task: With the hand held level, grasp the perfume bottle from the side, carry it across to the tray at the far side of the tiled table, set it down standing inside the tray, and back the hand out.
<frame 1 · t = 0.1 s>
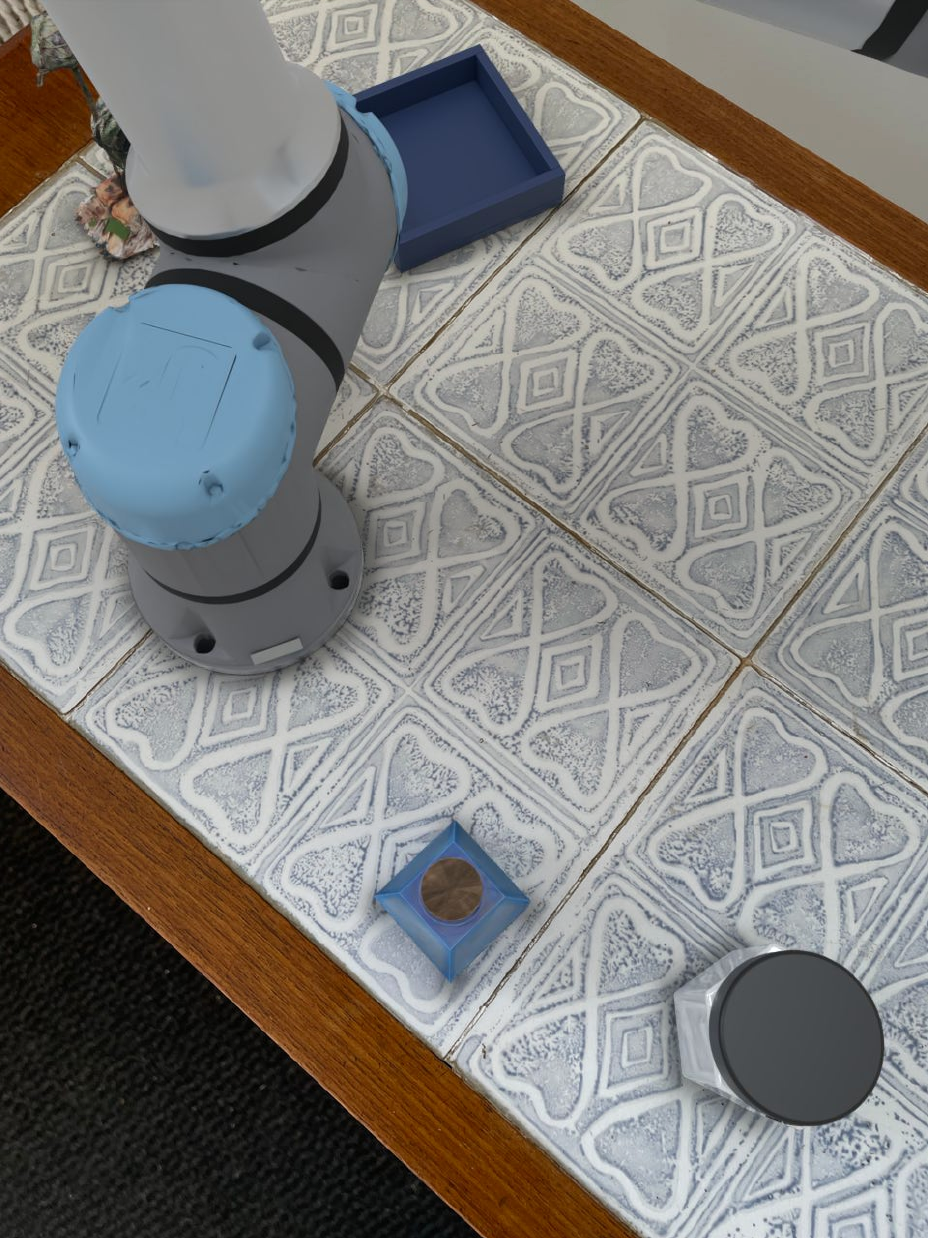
plant with pod: (151, 209, 85), on the table
jar: (742, 1029, 66), on the table
tray: (441, 171, 86), on the table
perfume bottle: (453, 907, 68), on the table
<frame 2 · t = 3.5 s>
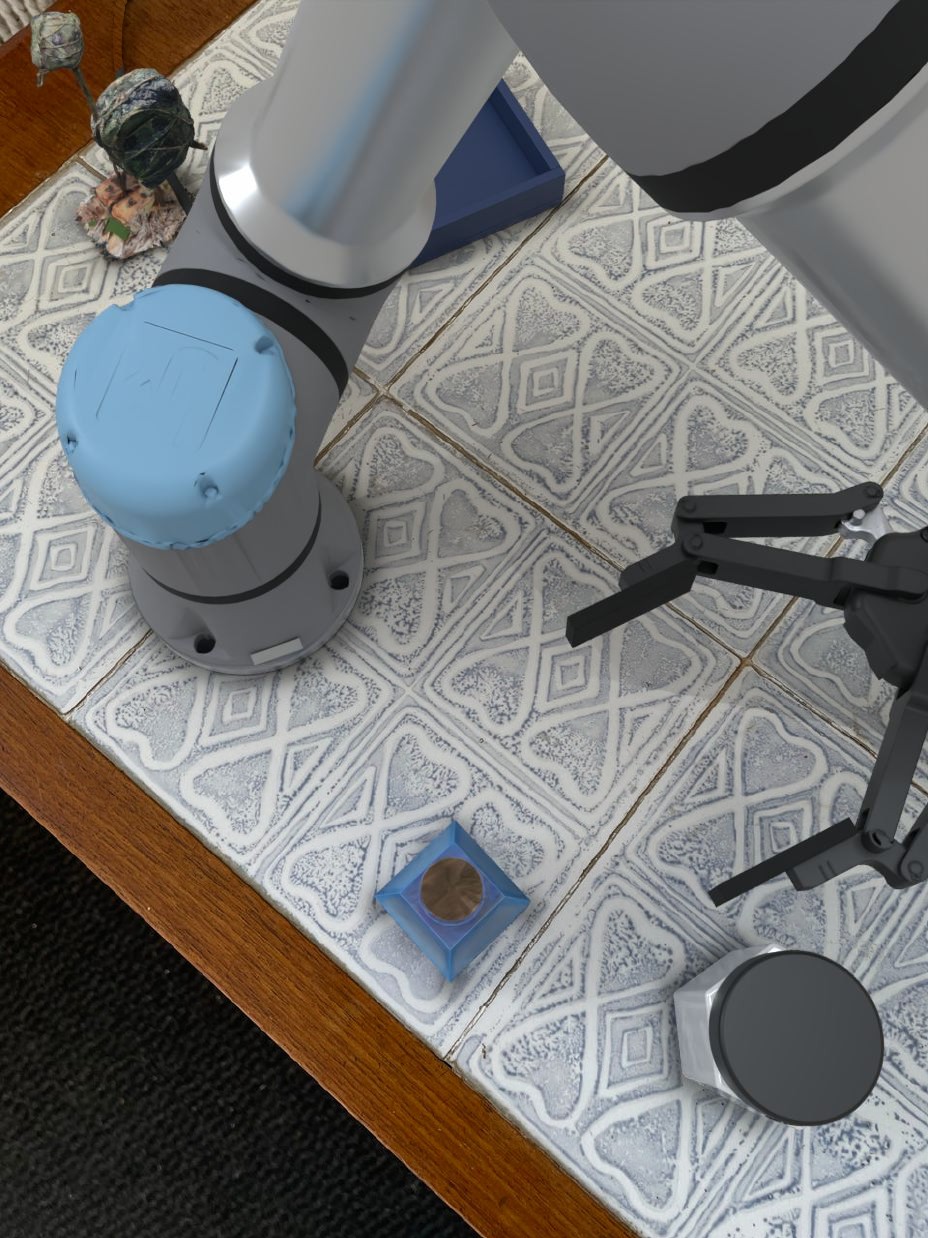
hand: (638, 759, 51), 20 cm above the table, tool horizontal, fingers open, 13 cm apart
nothing on the table moved.
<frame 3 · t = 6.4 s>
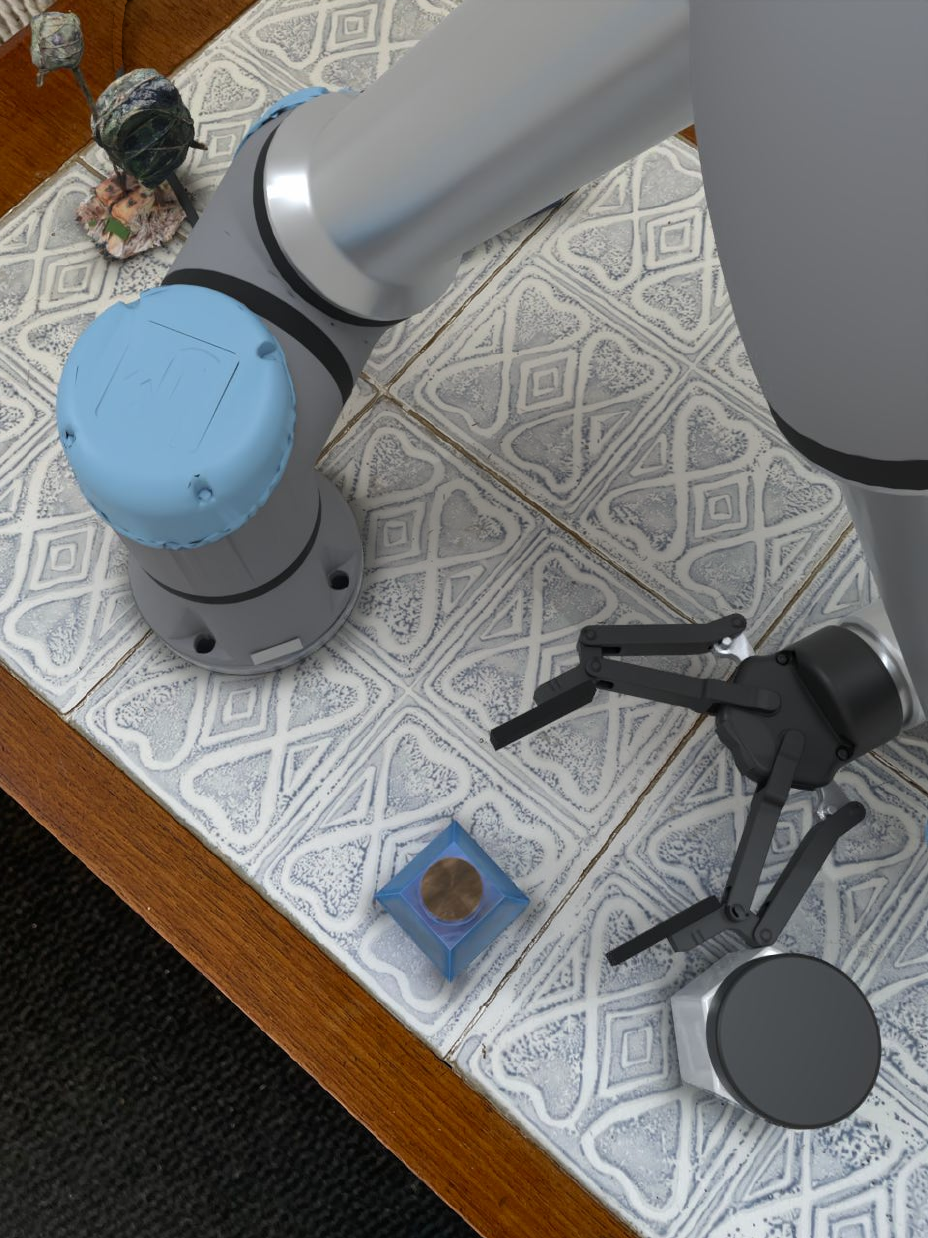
hand: (549, 847, 63), 7 cm above the table, tool horizontal, fingers open, 13 cm apart
jar: (740, 1032, 66), on the table, touching gripper
everything else where it was.
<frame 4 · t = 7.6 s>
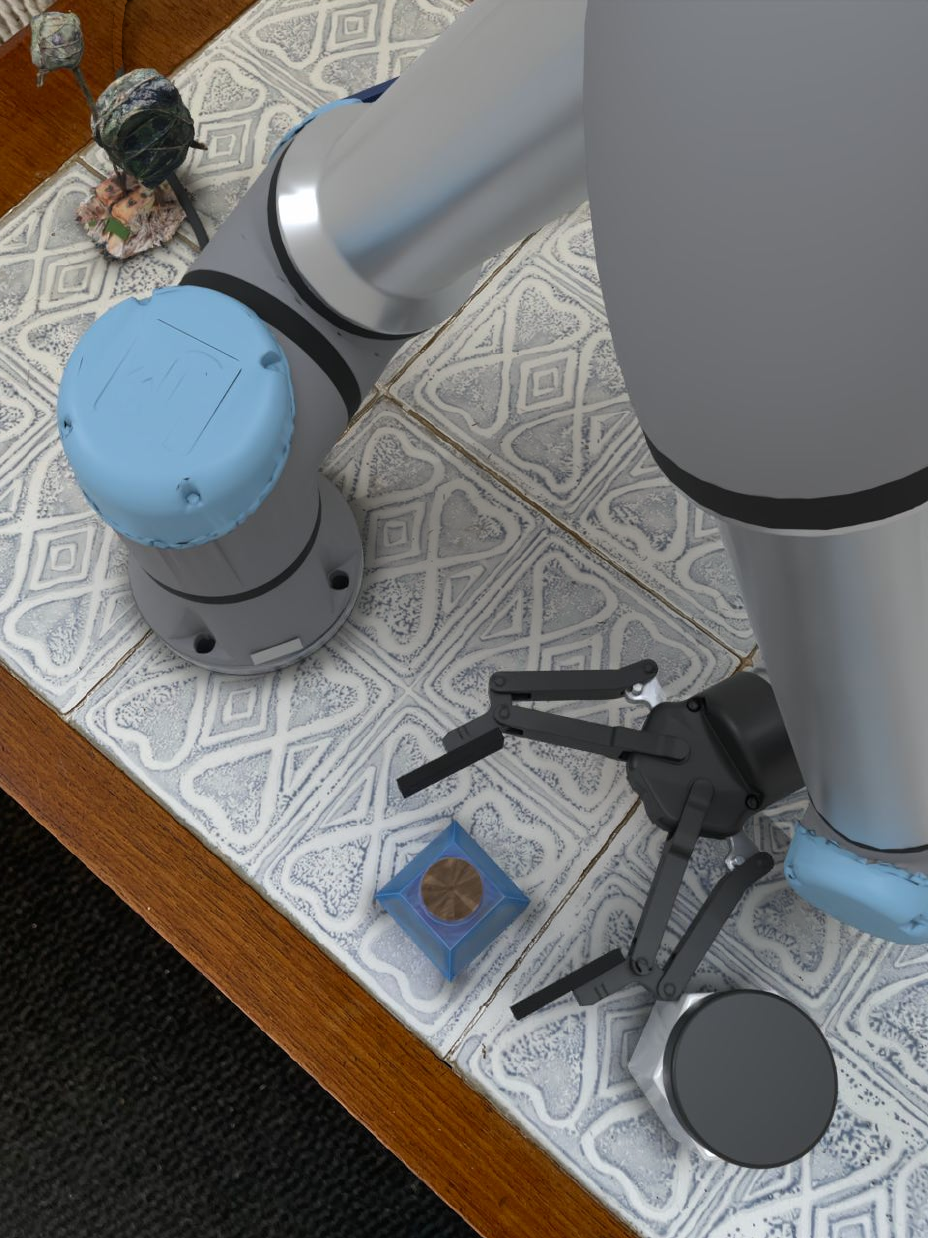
hand: (454, 898, 62), 7 cm above the table, tool horizontal, fingers open, 13 cm apart
jar: (703, 1063, 65), on the table
everything else where it was.
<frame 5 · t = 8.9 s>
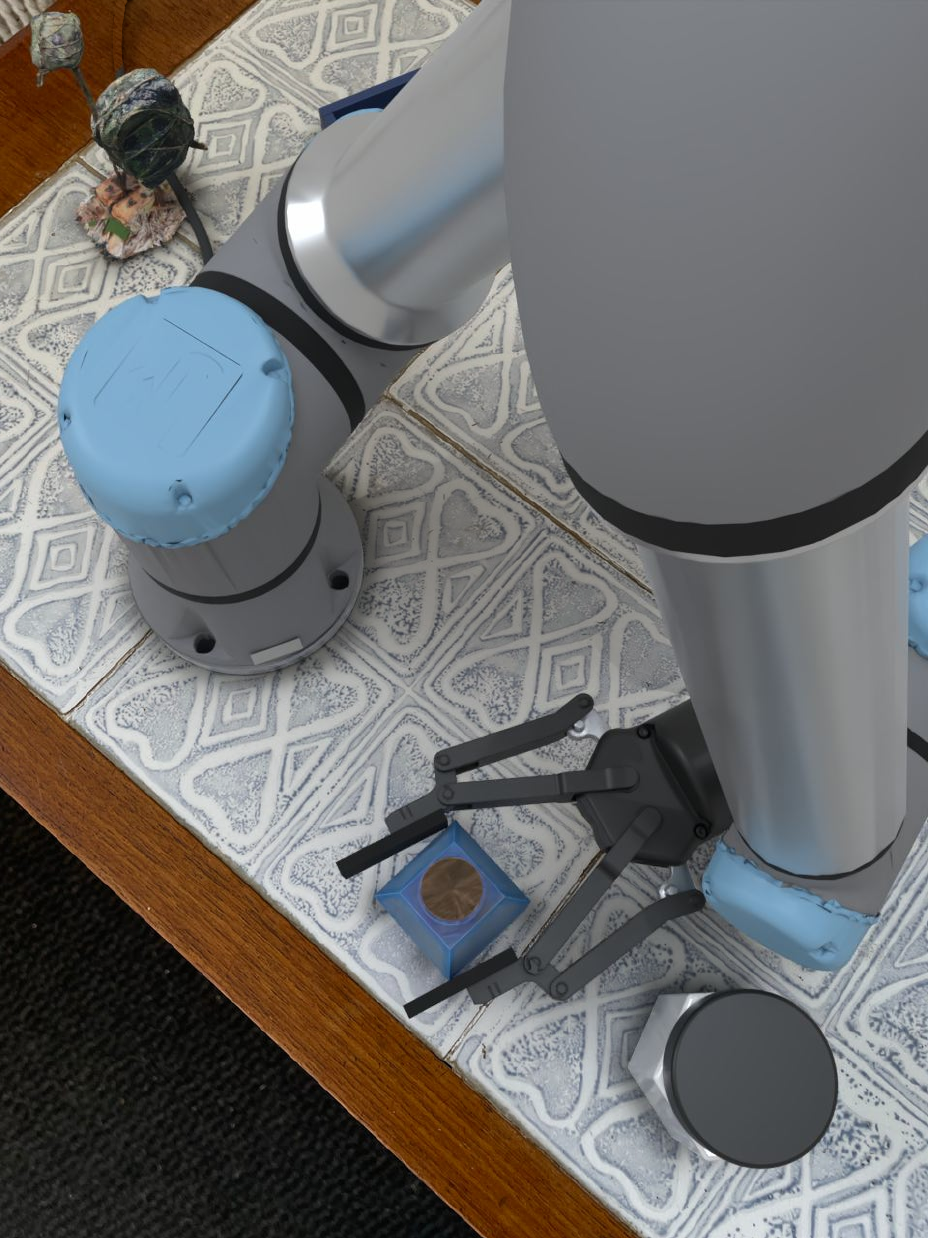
hand: (373, 940, 61), 7 cm above the table, tool horizontal, fingers closed on perfume bottle, 8 cm apart
perfume bottle: (453, 907, 68), on the table, touching gripper
everything else where it was.
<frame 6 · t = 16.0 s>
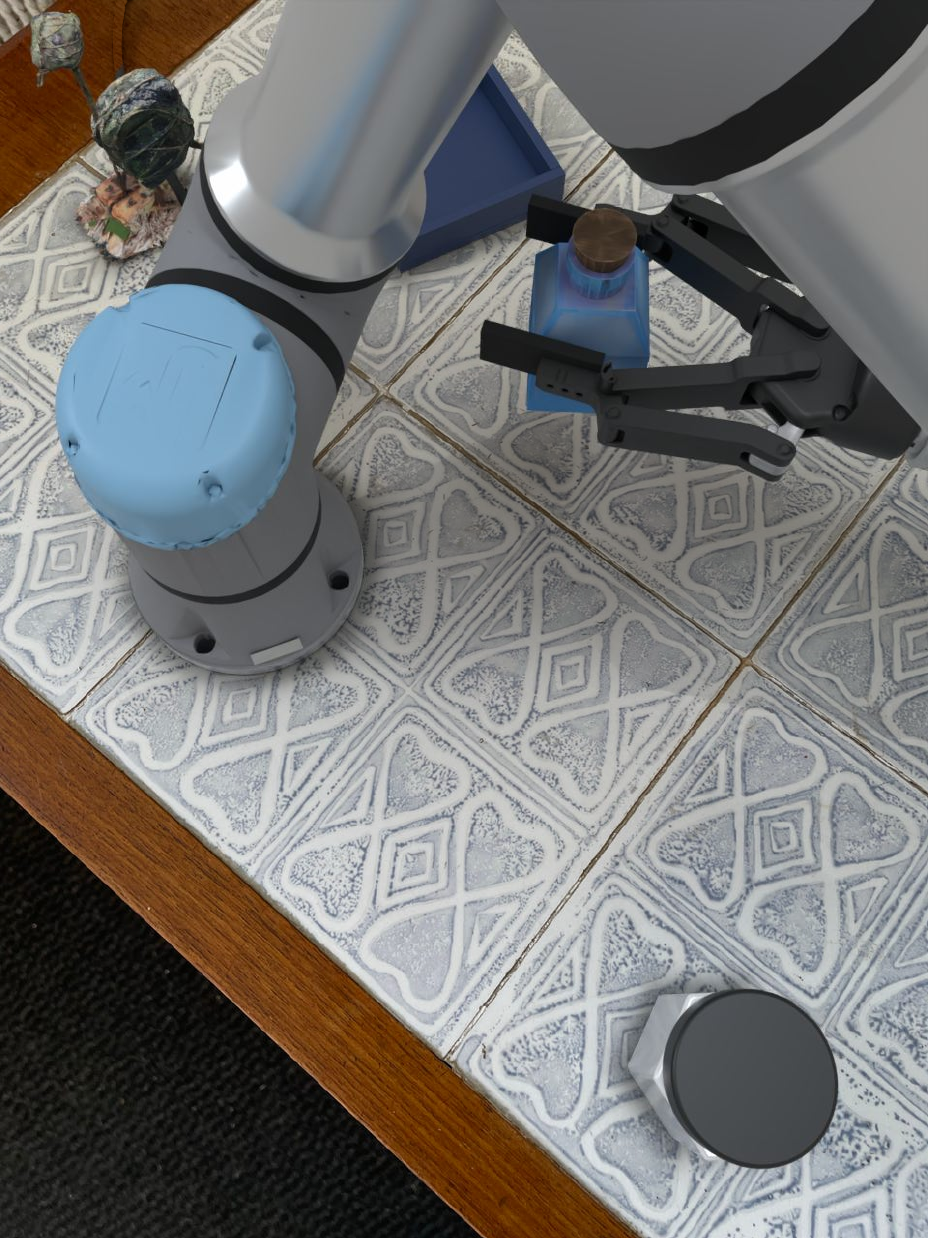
hand: (506, 276, 60), 19 cm above the table, tool horizontal, fingers closed on perfume bottle, 8 cm apart
perfume bottle: (579, 367, 66), point 12 cm above the table, touching gripper
everything else where it was.
when the fingers open (7 cm above the table, at t = 23.0 s): perfume bottle stays where it is, resting on tray.
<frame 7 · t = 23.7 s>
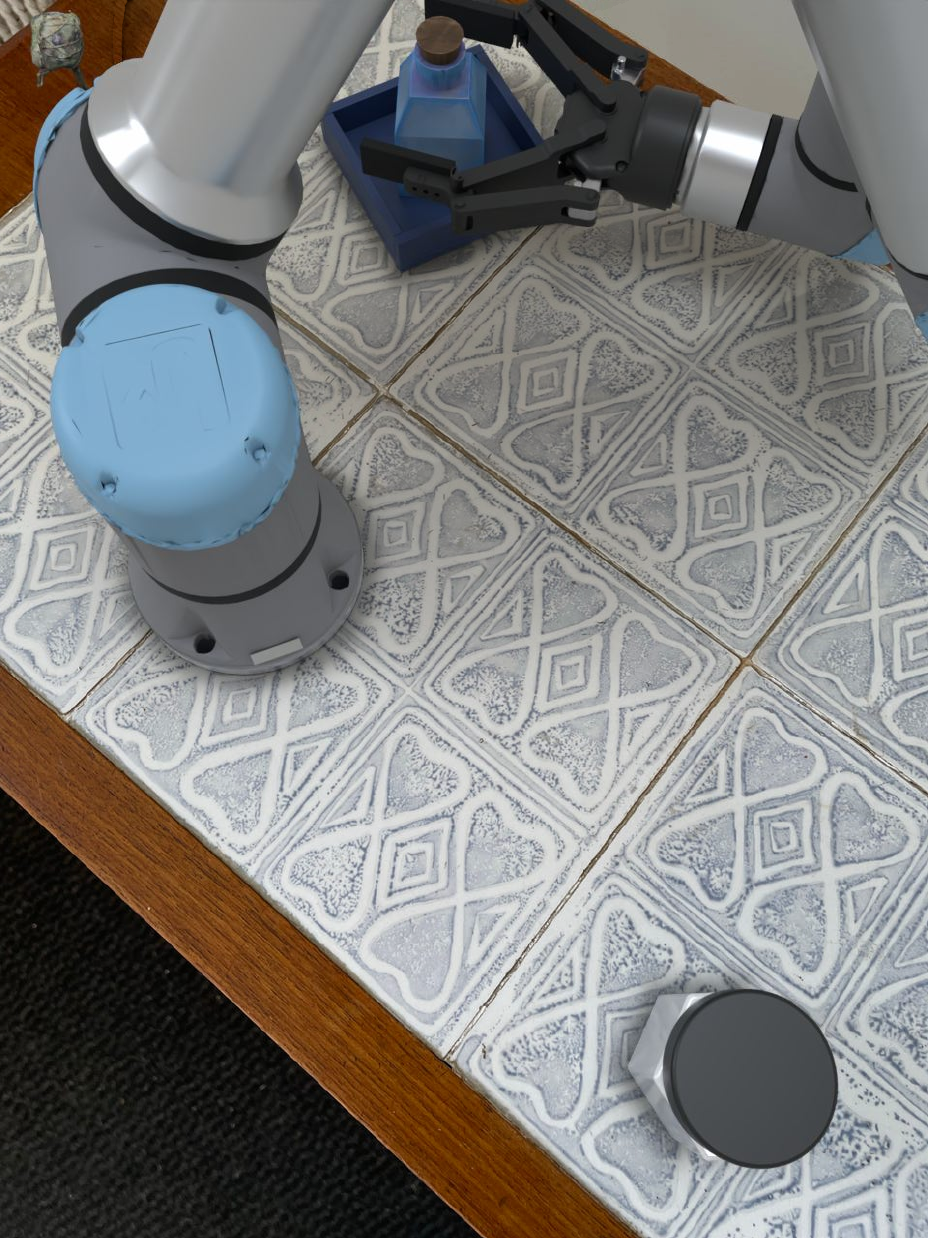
hand: (394, 79, 78), 8 cm above the table, tool horizontal, fingers open, 13 cm apart
perfume bottle: (442, 165, 85), point 1 cm above the table, touching tray
everything else where it was.
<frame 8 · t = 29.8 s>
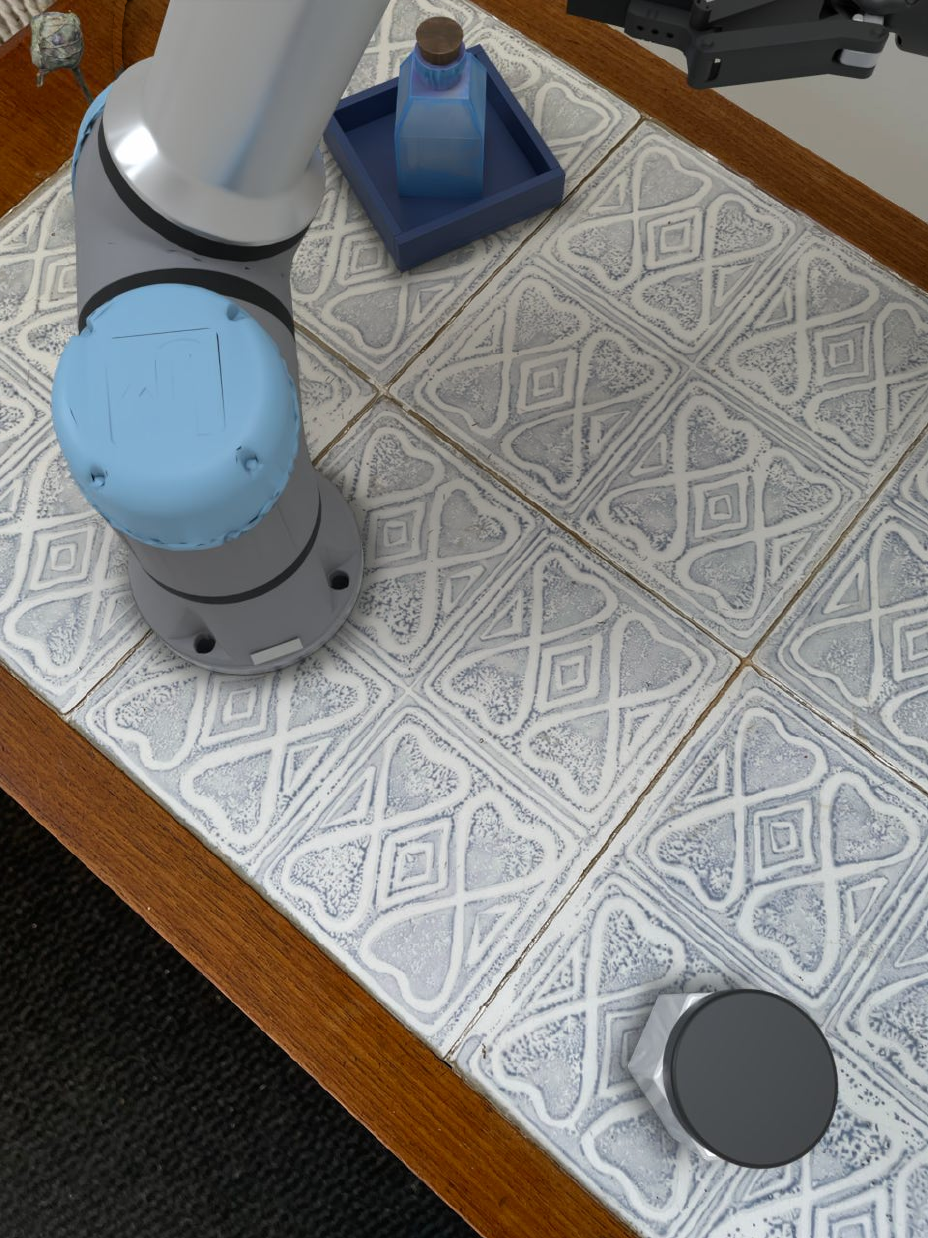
nothing on the table moved.
at the end: perfume bottle inside the target area in the tray (0.1 cm from its centre), point 0.6 cm above the tray's base; perfume bottle tilted 0°; the gripper is holding nothing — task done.
